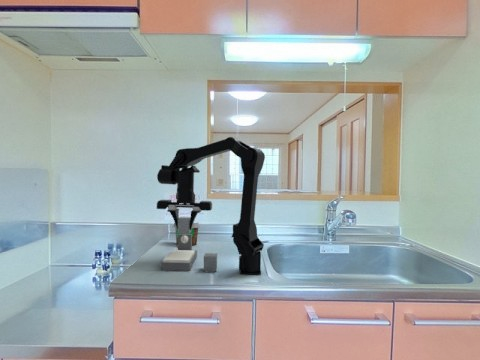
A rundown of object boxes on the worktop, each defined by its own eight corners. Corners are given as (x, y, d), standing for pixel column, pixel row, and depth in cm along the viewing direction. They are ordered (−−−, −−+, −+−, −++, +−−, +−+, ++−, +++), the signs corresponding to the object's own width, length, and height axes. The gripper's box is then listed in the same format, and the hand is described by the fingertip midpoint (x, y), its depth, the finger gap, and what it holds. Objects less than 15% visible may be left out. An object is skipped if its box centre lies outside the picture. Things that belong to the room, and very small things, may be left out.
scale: (197, 256, 121) (197, 234, 121) (189, 270, 104) (190, 244, 104) (172, 256, 121) (173, 233, 121) (161, 270, 104) (161, 243, 104)
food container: (167, 244, 140) (167, 221, 139) (176, 242, 145) (176, 220, 145) (190, 248, 134) (191, 224, 134) (199, 245, 139) (199, 222, 139)
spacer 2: (217, 268, 107) (217, 253, 107) (216, 272, 103) (216, 256, 103) (204, 268, 107) (205, 253, 107) (203, 271, 103) (203, 256, 103)
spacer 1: (191, 231, 117) (191, 217, 117) (189, 233, 113) (189, 219, 113) (179, 230, 117) (180, 217, 117) (177, 233, 113) (177, 218, 113)
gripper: (214, 185, 122) (213, 226, 122) (164, 183, 122) (163, 224, 123) (211, 186, 111) (209, 232, 111) (156, 184, 111) (155, 230, 112)
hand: (184, 229), depth 115 cm, fingers closed on spacer 1, 4 cm apart
